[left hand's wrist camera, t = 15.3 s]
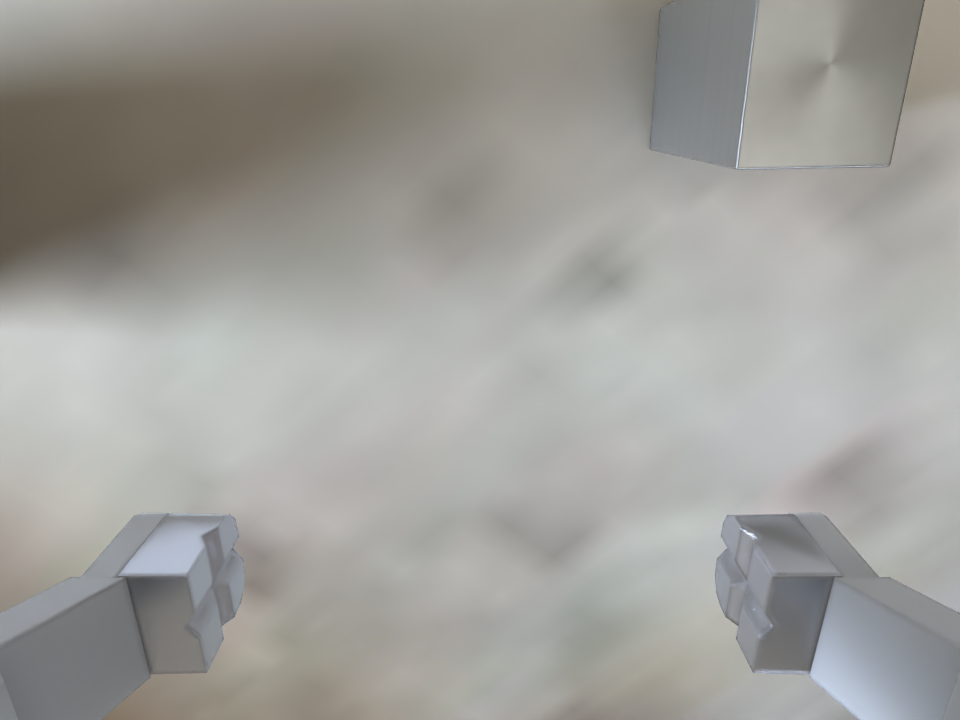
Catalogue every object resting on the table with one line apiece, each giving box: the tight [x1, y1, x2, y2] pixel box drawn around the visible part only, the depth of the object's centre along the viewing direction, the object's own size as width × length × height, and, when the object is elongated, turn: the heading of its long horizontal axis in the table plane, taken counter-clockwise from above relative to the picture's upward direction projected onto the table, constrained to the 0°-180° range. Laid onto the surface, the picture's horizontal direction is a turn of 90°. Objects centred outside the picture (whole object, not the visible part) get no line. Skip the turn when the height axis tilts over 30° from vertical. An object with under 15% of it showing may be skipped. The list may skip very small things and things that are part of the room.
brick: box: [650, 0, 925, 170], centre depth 23 cm, size 5×6×11 cm
